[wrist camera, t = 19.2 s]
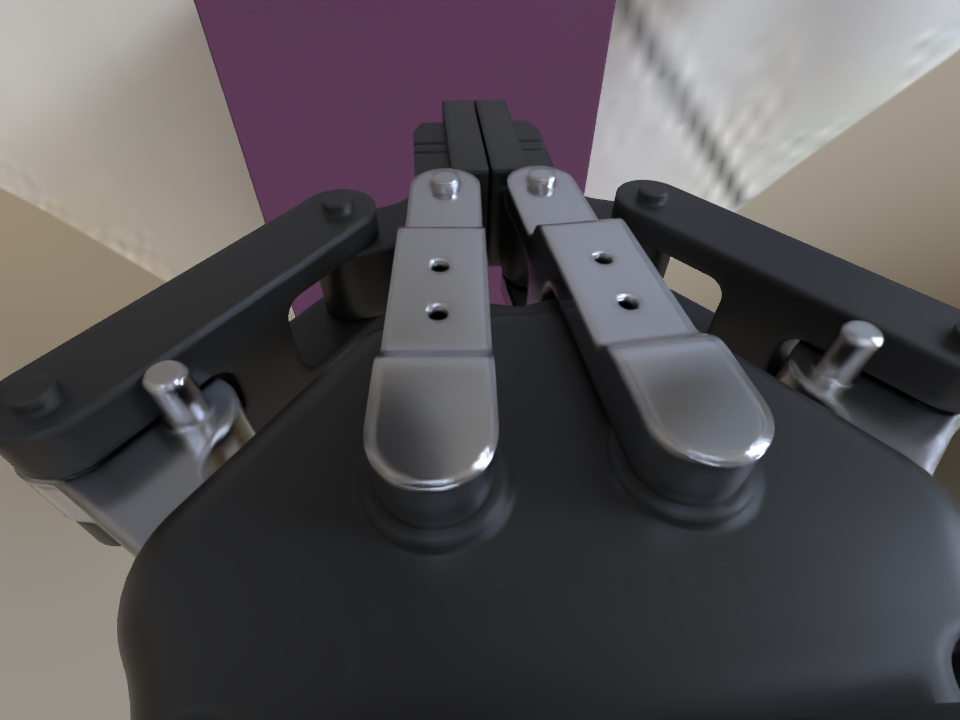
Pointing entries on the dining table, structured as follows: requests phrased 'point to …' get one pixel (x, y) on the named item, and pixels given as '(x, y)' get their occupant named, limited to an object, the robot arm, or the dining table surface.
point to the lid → (396, 86)
